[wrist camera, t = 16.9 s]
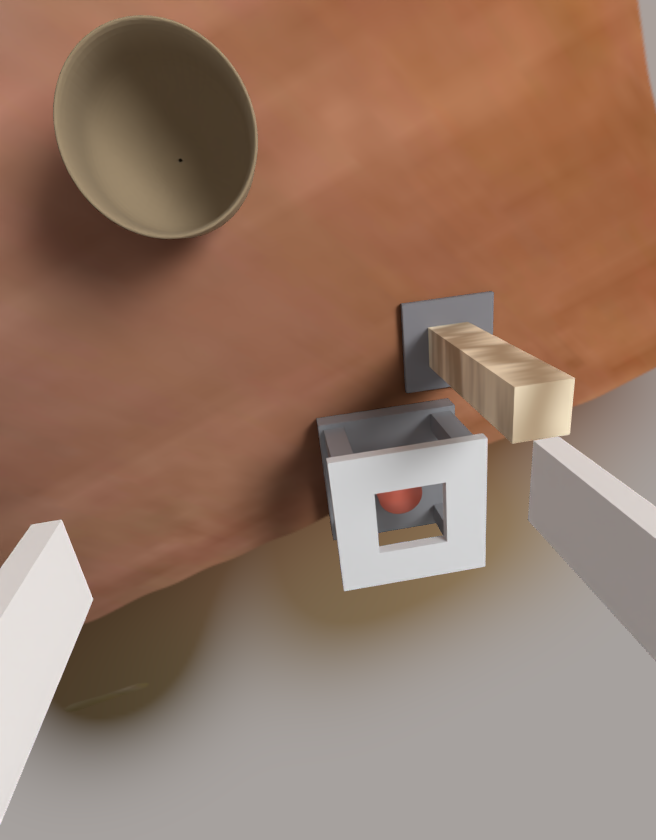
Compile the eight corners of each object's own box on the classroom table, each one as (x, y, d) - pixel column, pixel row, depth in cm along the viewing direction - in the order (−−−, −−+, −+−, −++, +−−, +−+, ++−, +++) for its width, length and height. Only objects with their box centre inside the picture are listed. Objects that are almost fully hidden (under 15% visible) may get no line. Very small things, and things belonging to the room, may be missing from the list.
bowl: (261, 69, 38) (259, 23, 29) (257, 241, 43) (255, 247, 34) (92, 49, 37) (33, -7, 27) (108, 230, 41) (63, 234, 32)
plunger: (369, 489, 54) (380, 517, 49) (366, 454, 52) (377, 479, 47) (408, 483, 54) (423, 510, 49) (406, 447, 52) (421, 472, 47)
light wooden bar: (429, 366, 49) (512, 443, 32) (428, 327, 47) (514, 387, 31) (467, 361, 49) (569, 434, 33) (467, 321, 48) (574, 378, 31)
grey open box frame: (331, 529, 56) (344, 591, 47) (316, 418, 50) (327, 463, 41) (449, 509, 57) (485, 566, 48) (447, 398, 51) (487, 438, 42)
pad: (405, 391, 50) (406, 393, 50) (400, 303, 47) (402, 304, 46) (489, 378, 51) (491, 380, 50) (491, 291, 47) (493, 292, 47)
